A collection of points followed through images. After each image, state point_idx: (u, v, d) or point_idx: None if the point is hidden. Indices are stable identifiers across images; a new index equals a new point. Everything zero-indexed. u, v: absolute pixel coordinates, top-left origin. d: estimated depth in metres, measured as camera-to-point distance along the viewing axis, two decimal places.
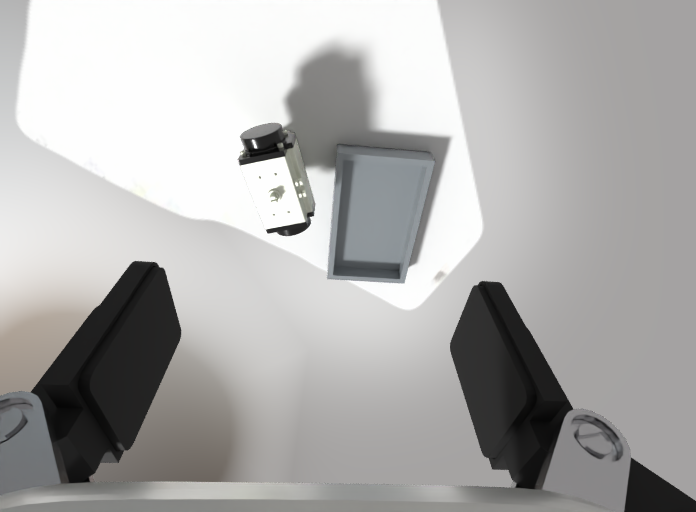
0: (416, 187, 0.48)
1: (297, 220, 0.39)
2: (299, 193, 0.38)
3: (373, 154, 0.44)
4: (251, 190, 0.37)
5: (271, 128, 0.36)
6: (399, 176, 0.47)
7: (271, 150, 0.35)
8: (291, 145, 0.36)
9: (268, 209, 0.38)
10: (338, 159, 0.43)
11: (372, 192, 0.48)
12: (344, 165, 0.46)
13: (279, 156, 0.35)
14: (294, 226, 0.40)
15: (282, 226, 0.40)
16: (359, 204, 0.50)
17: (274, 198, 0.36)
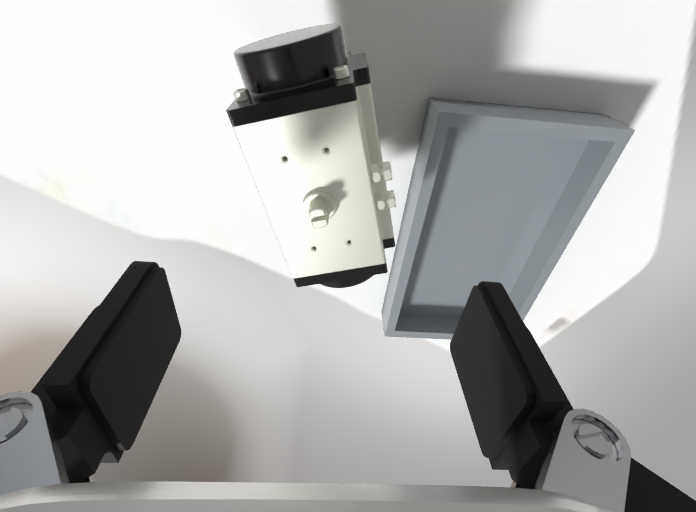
0: (565, 183, 0.26)
1: (366, 260, 0.17)
2: (379, 199, 0.15)
3: (508, 115, 0.21)
4: (262, 192, 0.15)
5: (315, 31, 0.14)
6: (539, 162, 0.25)
7: (317, 85, 0.13)
8: (366, 76, 0.14)
9: (302, 236, 0.16)
10: (438, 126, 0.21)
11: (481, 192, 0.26)
12: None
13: (341, 100, 0.13)
14: (358, 273, 0.18)
15: (331, 273, 0.18)
16: (453, 214, 0.27)
17: (321, 213, 0.14)
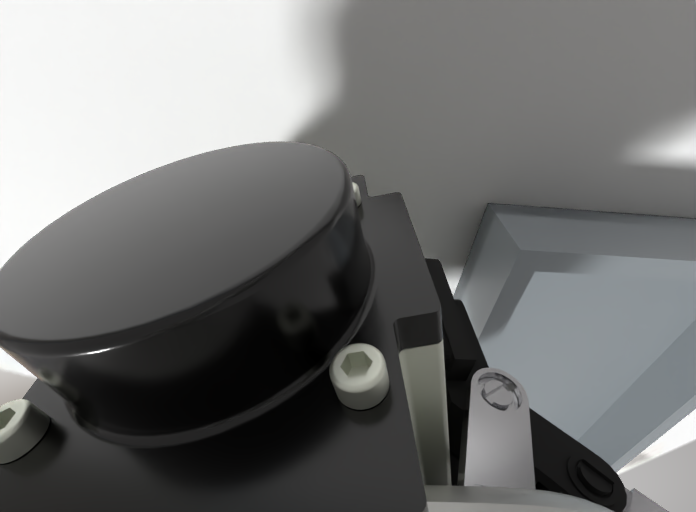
0: (692, 319, 0.16)
1: None
2: None
3: (639, 247, 0.12)
4: None
5: (268, 193, 0.04)
6: (658, 294, 0.15)
7: (272, 436, 0.03)
8: (434, 328, 0.04)
9: None
10: (516, 270, 0.12)
11: (559, 331, 0.17)
12: None
13: None
14: None
15: None
16: (512, 357, 0.18)
17: None
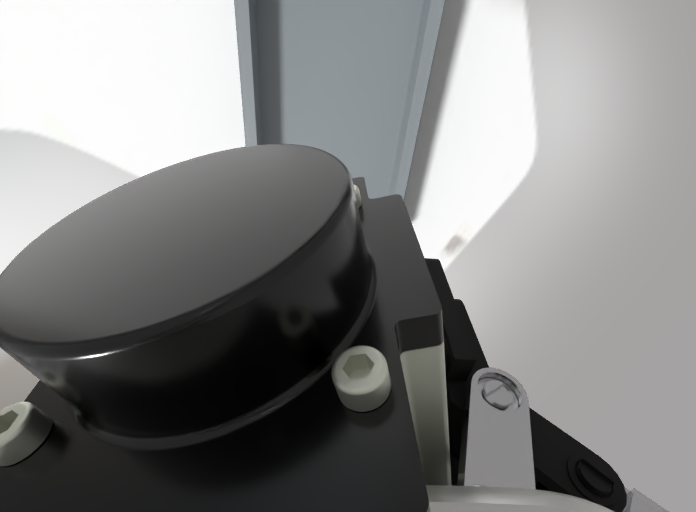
0: (412, 51, 0.24)
1: None
2: None
3: None
4: None
5: (270, 195, 0.04)
6: (377, 22, 0.23)
7: (275, 438, 0.03)
8: (434, 330, 0.04)
9: None
10: None
11: (324, 63, 0.24)
12: None
13: None
14: None
15: None
16: (301, 92, 0.25)
17: None
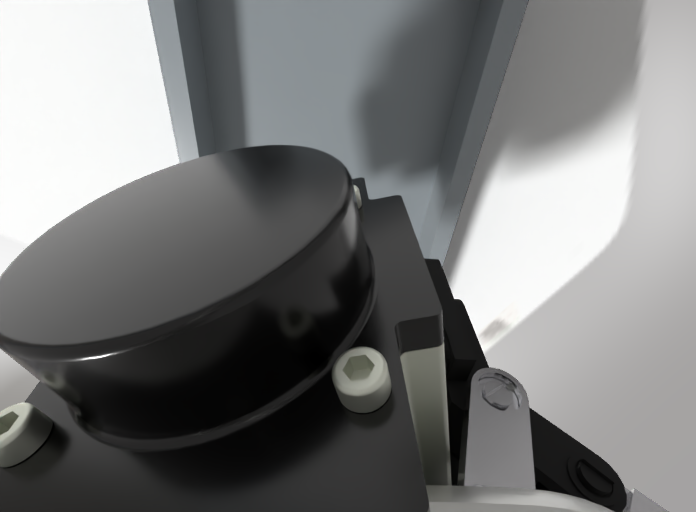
0: (457, 81, 0.15)
1: None
2: None
3: None
4: None
5: (270, 196, 0.04)
6: (401, 35, 0.14)
7: (275, 439, 0.03)
8: (435, 331, 0.04)
9: None
10: None
11: (315, 99, 0.15)
12: None
13: None
14: None
15: None
16: (279, 142, 0.16)
17: None
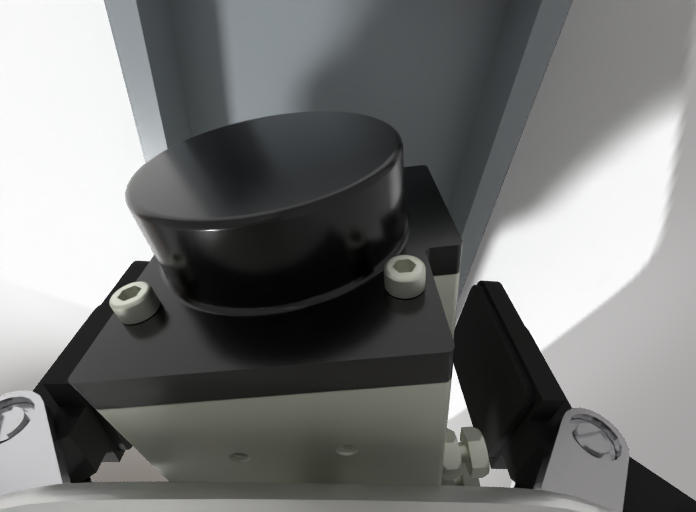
0: (476, 98, 0.13)
1: None
2: None
3: None
4: None
5: (338, 144, 0.06)
6: (412, 46, 0.12)
7: (340, 312, 0.05)
8: (454, 260, 0.06)
9: None
10: None
11: None
12: None
13: (408, 379, 0.04)
14: None
15: None
16: None
17: None
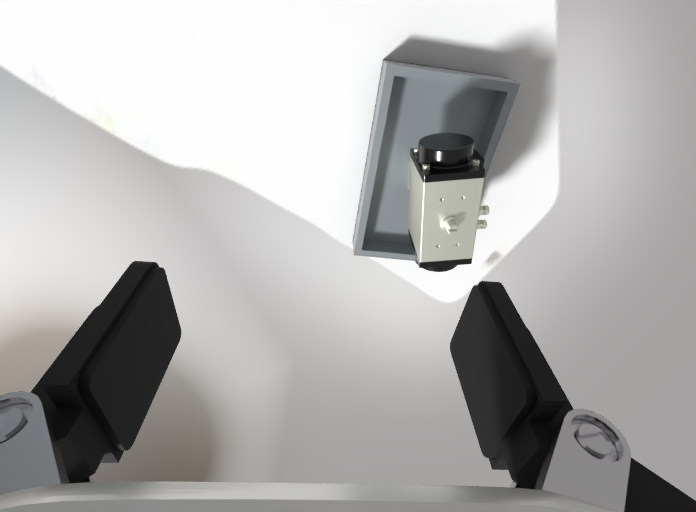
0: (483, 129, 0.36)
1: (462, 255, 0.31)
2: (478, 223, 0.30)
3: (434, 70, 0.31)
4: (424, 214, 0.29)
5: (461, 140, 0.28)
6: (462, 111, 0.35)
7: (465, 167, 0.28)
8: (483, 164, 0.29)
9: (434, 238, 0.30)
10: (387, 74, 0.31)
11: (423, 134, 0.36)
12: (390, 91, 0.34)
13: (477, 176, 0.27)
14: (456, 262, 0.32)
15: (441, 261, 0.32)
16: (404, 151, 0.37)
17: (455, 228, 0.29)
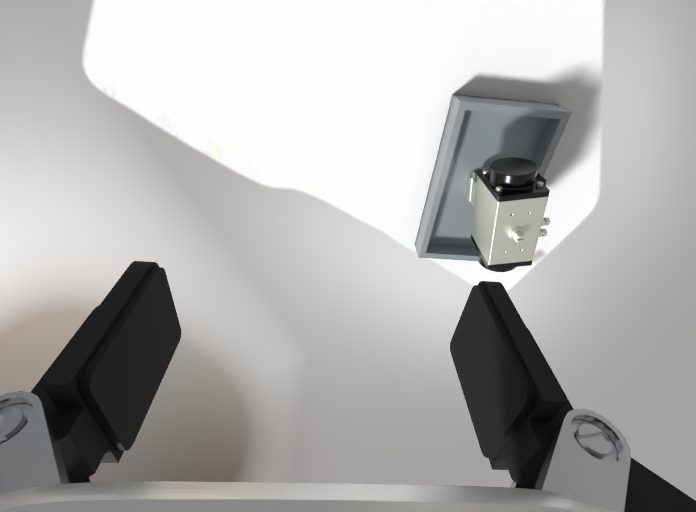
0: (535, 147, 0.42)
1: (525, 258, 0.38)
2: (539, 232, 0.36)
3: (499, 103, 0.37)
4: (495, 226, 0.35)
5: (526, 164, 0.35)
6: (518, 134, 0.41)
7: (531, 188, 0.34)
8: (544, 183, 0.35)
9: (502, 245, 0.37)
10: (459, 109, 0.37)
11: (483, 154, 0.42)
12: None
13: (542, 196, 0.33)
14: (518, 264, 0.38)
15: (506, 263, 0.38)
16: (466, 168, 0.43)
17: (522, 237, 0.35)
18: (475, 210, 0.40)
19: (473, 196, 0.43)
